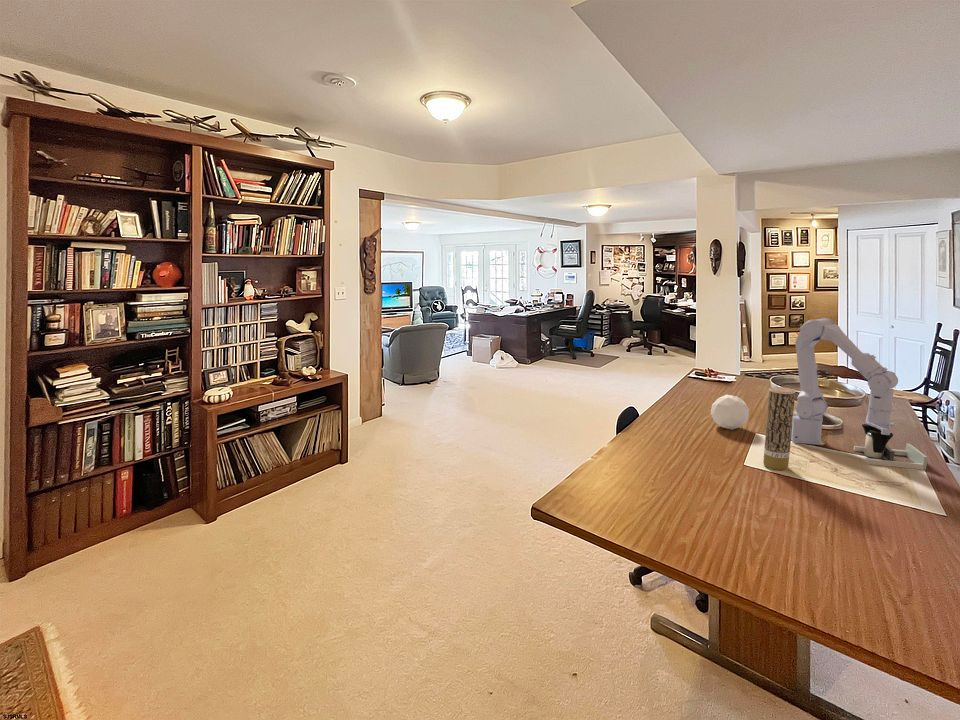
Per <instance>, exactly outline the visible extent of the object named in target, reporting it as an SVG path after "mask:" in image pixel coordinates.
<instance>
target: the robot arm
mask: <svg viewBox="0 0 960 720" xmlns="http://www.w3.org/2000/svg"><path fill="white" fill-rule="evenodd" d="M799 330H800V331H799V332H798V335H797V337H796V340H795V342H794V343H795V344H794V345H795V354H796V360H797V361H796V363H797V369H798V379H799V386H800V392H799V394H798V395H797V397H796V399H797V400H796V401H797V403H796V405H795V412H796V414H797V415H793V422H792V433H791V442H792V443H793V444H794V443H795V444H808V445H817V446H824V445H825V443H824V442H823V441H822V439H821V438H822V429H823V420H824V419H823V418H824V416H823V414H825V413H826V412H827V410H828V403H827V401H826V400H825V399H824V393H823V392H821V391H820V387H819V379H818V378H819V377H818V371H817V370H818V369H817V363H816V354H815V346H816V344H818V343H819V342H820V341H821V340H823V341H826V342H827V341H829V342H832V343H833V344H835V346H837V347H838V348H839V349H840V350H841V351H842V352H844V353H845V354H846V355H847V356H848V357H849V358H850V360H851V365H852V367H854V368H855V369H856V371H857V372H858V373H860V375H862V376H863V378H864V379H866V380H867V385H868V387H869V388H870V392H869V401H868V408H867V415H866V416H865V423H863V424H861V426H862V428H863V431H864V433H865V435H866V434H867V432H870V433H871V436H872V440H873V451H874V452H876V453H882V452H883V450H884V448H885V446H886V445H887V444H888V442H889V441H890V440H891V439H892V438H893V437H894V434H893V432H891V430H892V429H891V427H894V426H895V423H894V422H891V415H892V407H893V400H894V399H893V398H894V388H896V386H898V383H899V378H898V376H897V375H896V374H895V372H893V371H892V370H891V371H890V370H889V369H888V368H887V367H886V366H885V367H884V366H883V365H882V364H880V363H879V362H878V361H877V360H876V359H877V356H875V355H874V354H870V353H868V352H862V350H860V348H859V347H858V346H857V345H856V344H855V343H854V342H853V341H852V340H851V339H850V338H849V337H848V335H846V334H845V333H844V331H843V330H842V329H841V328H840V326H839V325H838V324H837V323H835V322H834V321H833V320H832V319H831V318H828V317H822V318H818V319H817V318H816V319H809V320H806V321H804V323H803V324H802V325H800V327H799Z"/></svg>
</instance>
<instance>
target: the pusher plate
mask: <svg viewBox="0 0 960 720" xmlns="http://www.w3.org/2000/svg"><path fill="white" fill-rule="evenodd" d="M892 449H893V448H891V447H890V446H889V445H887V444H886V446H885V450H884V457H883V458H882V459H883V460H890V461H895V455H894V453H895V452H894V451H893V450H892Z"/></svg>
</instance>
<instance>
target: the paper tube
mask: <svg viewBox="0 0 960 720" xmlns="http://www.w3.org/2000/svg"><path fill="white" fill-rule="evenodd" d="M795 398H796V389H793V388H789V387H781V386H780V387H779V386H775V387H774V386H772V387H769V391H768V401H767V402H768V403H767V412H766V413H767V414H766V425H765V437H764V450H763V459H762V460H763V462H762V463H763V465H764V466H765V467H766V468H769V469H771V470H777V471H784V470H787V469H789V462H790V454H791V453H790V451H791V442H792V440H791V433H792V422H793V416H794V411H795Z"/></svg>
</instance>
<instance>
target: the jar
mask: <svg viewBox="0 0 960 720" xmlns="http://www.w3.org/2000/svg"><path fill="white" fill-rule="evenodd" d="M864 447H865V450H864V452H863V455H865V456H866V457H870V458H872V459H884V458H883V457H884V450H885V448H884V450H883V452H882V453H876V452H874V451H873V440H872V436H871V433H870V432H867V434H865V443H864Z"/></svg>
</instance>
